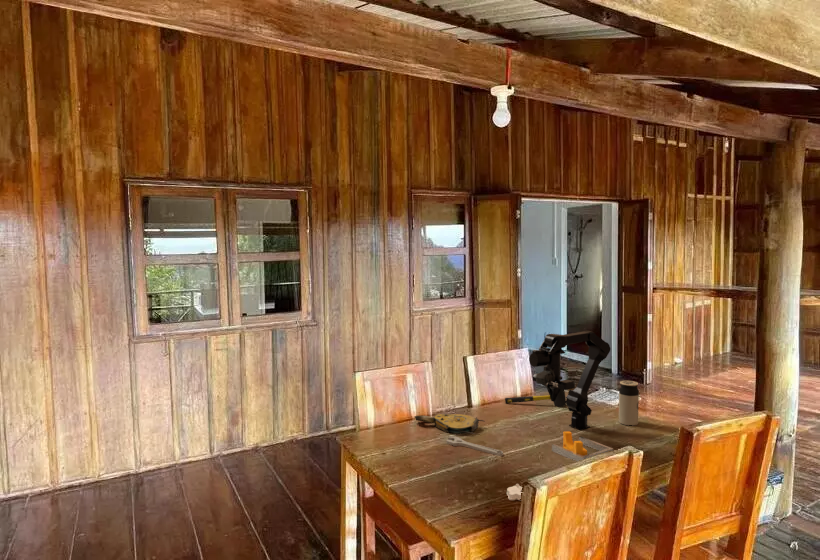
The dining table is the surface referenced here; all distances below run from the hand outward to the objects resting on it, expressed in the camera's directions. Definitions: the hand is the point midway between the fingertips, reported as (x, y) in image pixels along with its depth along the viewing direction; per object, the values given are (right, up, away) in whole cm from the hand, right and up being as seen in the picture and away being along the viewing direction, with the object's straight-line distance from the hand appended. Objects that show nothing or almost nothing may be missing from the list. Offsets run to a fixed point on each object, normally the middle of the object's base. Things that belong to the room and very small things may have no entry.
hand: (553, 401), depth 227 cm
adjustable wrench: (-36, -15, -17) cm, 42 cm away
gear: (-26, -18, -56) cm, 64 cm away
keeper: (+5, -15, -22) cm, 27 cm away
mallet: (+2, -11, +39) cm, 41 cm away
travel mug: (+36, -12, +11) cm, 40 cm away
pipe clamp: (+2, -15, -23) cm, 27 cm away
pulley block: (-44, -13, +8) cm, 46 cm away
